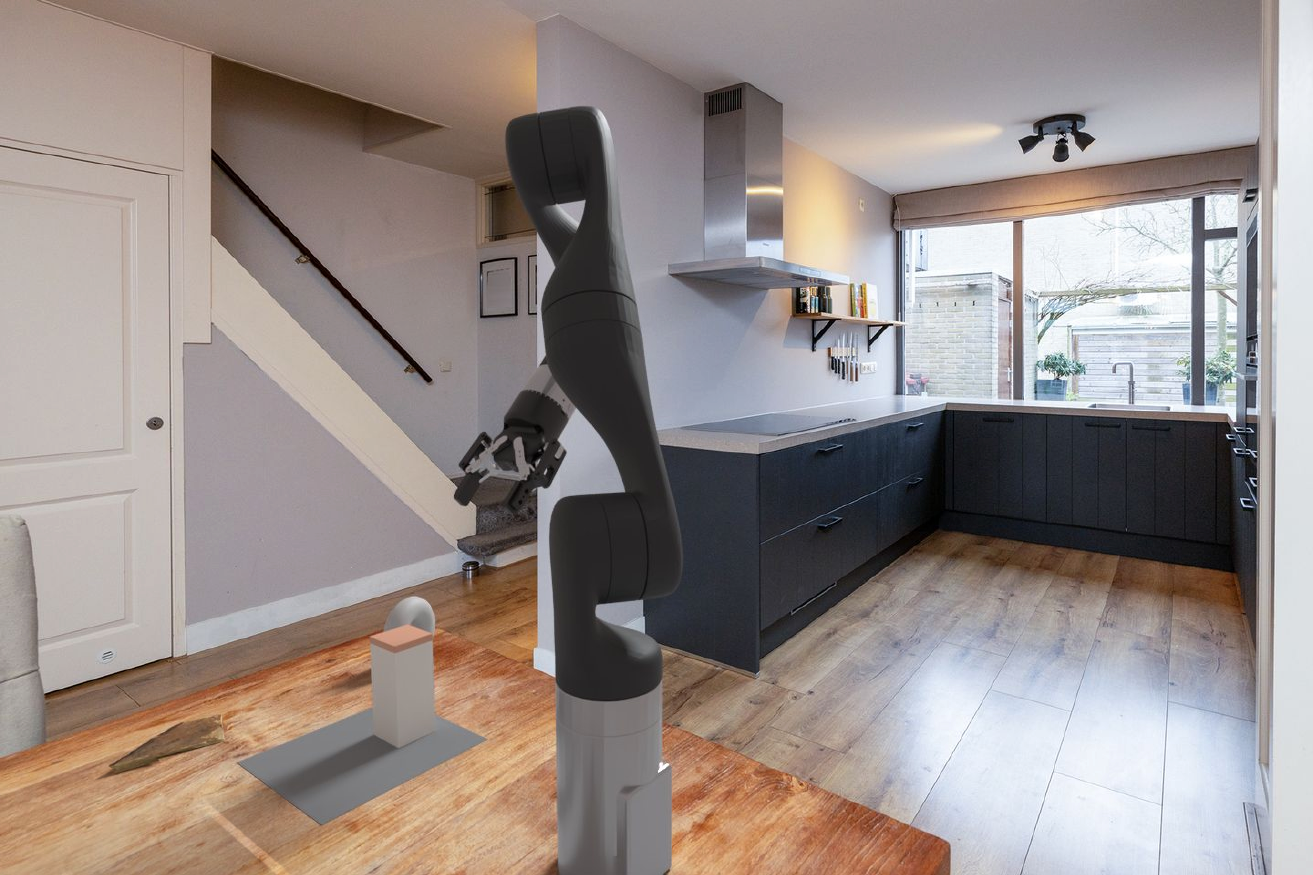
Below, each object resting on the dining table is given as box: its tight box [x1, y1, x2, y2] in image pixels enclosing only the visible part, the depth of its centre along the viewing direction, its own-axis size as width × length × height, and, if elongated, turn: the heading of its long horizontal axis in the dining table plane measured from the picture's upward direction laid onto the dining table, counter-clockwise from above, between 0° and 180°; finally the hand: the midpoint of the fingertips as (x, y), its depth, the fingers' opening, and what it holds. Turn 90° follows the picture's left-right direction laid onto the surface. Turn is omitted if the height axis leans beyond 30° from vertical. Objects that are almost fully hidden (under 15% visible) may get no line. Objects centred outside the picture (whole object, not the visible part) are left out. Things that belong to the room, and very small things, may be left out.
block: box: [369, 624, 436, 748], centre depth 86 cm, size 5×5×12 cm
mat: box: [236, 706, 489, 826], centre depth 83 cm, size 18×20×1 cm
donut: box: [382, 595, 436, 636], centre depth 107 cm, size 10×4×10 cm, turn 162°
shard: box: [108, 713, 226, 774], centre depth 85 cm, size 11×8×2 cm
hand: (483, 506), depth 89 cm, fingers open, 8 cm apart
